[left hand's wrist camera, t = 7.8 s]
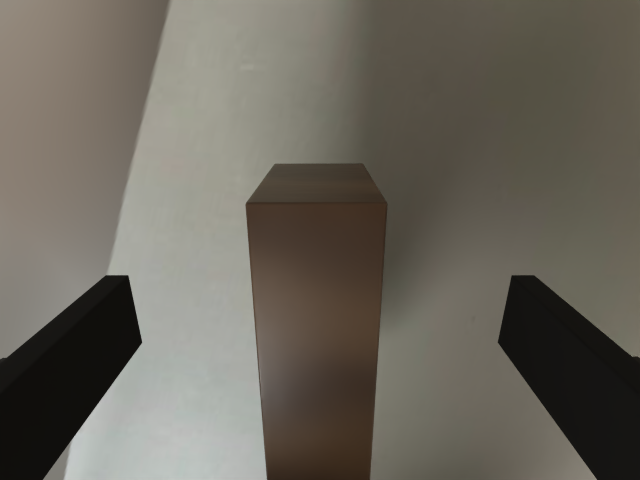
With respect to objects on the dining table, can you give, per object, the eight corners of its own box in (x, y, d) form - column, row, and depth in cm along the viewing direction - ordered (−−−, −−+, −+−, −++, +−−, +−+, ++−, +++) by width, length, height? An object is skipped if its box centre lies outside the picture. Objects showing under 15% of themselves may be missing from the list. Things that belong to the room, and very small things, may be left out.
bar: (274, 163, 21) (244, 202, 13) (363, 163, 21) (388, 202, 13) (289, 494, 31) (278, 631, 23) (350, 494, 31) (360, 632, 23)
